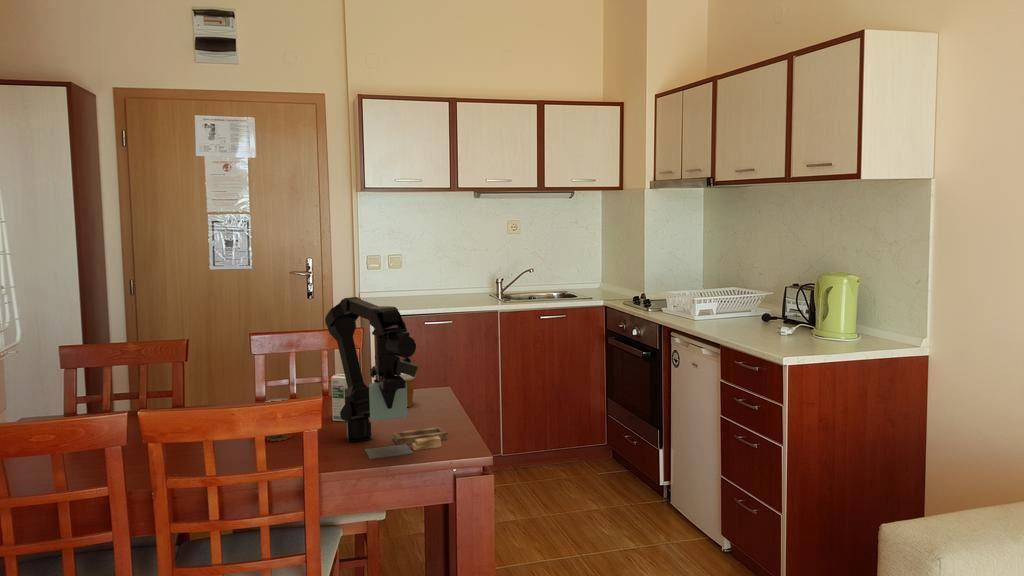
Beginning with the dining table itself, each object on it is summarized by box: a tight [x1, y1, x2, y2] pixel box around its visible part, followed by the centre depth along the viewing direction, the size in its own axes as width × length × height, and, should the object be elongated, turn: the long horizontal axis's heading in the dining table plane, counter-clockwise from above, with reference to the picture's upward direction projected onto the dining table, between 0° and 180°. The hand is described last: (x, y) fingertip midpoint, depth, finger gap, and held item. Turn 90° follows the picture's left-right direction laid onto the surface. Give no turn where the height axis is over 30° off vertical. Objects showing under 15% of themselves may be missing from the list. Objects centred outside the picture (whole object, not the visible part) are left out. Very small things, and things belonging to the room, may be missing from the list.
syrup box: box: [330, 373, 348, 422], centre depth 249 cm, size 6×6×14 cm
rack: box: [392, 426, 449, 445], centre depth 228 cm, size 15×7×2 cm, turn 110°
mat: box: [364, 444, 414, 460], centre depth 217 cm, size 12×8×1 cm, turn 110°
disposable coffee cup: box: [395, 373, 416, 408], centre depth 264 cm, size 10×10×12 cm
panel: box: [368, 382, 408, 422], centre depth 215 cm, size 10×3×10 cm, turn 111°
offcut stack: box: [411, 436, 442, 451], centre depth 221 cm, size 8×3×2 cm, turn 110°
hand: (388, 407), depth 216 cm, fingers closed on panel, 3 cm apart
